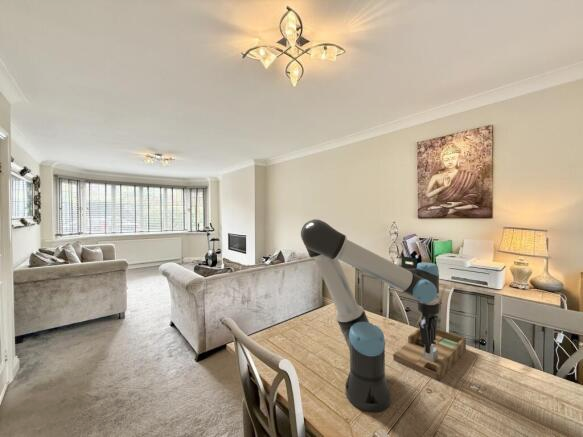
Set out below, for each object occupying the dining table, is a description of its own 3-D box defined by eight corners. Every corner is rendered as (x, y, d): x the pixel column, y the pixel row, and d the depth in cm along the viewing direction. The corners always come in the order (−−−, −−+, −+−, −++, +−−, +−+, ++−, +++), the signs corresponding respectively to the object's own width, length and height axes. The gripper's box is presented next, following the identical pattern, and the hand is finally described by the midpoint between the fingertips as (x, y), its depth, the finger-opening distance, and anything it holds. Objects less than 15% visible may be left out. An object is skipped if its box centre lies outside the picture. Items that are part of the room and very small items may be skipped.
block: (434, 362, 99) (433, 352, 99) (423, 357, 102) (423, 348, 102) (437, 358, 102) (437, 348, 102) (427, 354, 105) (427, 344, 105)
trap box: (439, 381, 92) (439, 367, 91) (393, 360, 105) (393, 347, 105) (465, 349, 112) (465, 338, 112) (424, 335, 126) (424, 324, 126)
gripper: (431, 308, 91) (432, 371, 91) (444, 300, 99) (445, 357, 100) (411, 303, 97) (412, 362, 97) (425, 295, 105) (426, 349, 106)
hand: (429, 359), depth 98 cm, fingers closed
